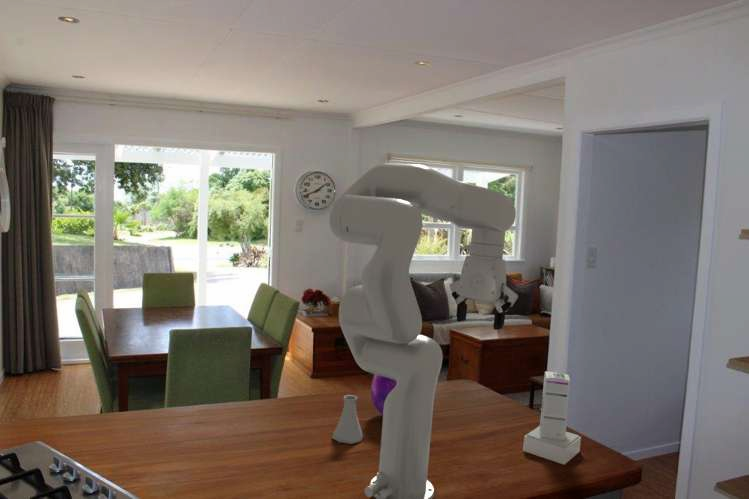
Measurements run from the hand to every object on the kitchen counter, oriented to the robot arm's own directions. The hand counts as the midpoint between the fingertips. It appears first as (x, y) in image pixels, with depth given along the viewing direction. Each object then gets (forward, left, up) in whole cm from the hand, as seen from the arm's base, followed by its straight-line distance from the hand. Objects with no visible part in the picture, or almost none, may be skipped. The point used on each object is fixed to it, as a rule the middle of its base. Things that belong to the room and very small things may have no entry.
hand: (479, 324), depth 141 cm
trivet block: (+12, -15, -29) cm, 35 cm away
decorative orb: (+1, +22, -29) cm, 37 cm away
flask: (-18, +23, -30) cm, 41 cm away
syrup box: (+12, -15, -25) cm, 32 cm away
